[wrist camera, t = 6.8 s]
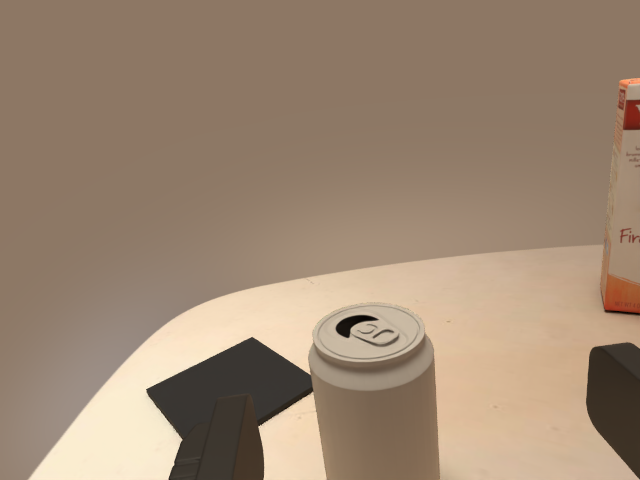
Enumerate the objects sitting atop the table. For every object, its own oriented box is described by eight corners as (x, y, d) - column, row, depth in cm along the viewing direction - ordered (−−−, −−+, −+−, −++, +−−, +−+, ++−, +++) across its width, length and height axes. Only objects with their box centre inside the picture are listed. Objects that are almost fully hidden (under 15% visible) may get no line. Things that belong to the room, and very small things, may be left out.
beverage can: (381, 446, 31) (365, 287, 27) (464, 503, 26) (459, 320, 22) (310, 506, 27) (279, 332, 23) (391, 586, 22) (369, 383, 18)
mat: (200, 462, 31) (199, 456, 31) (147, 393, 40) (146, 389, 40) (320, 386, 38) (320, 381, 38) (253, 340, 46) (252, 336, 46)
